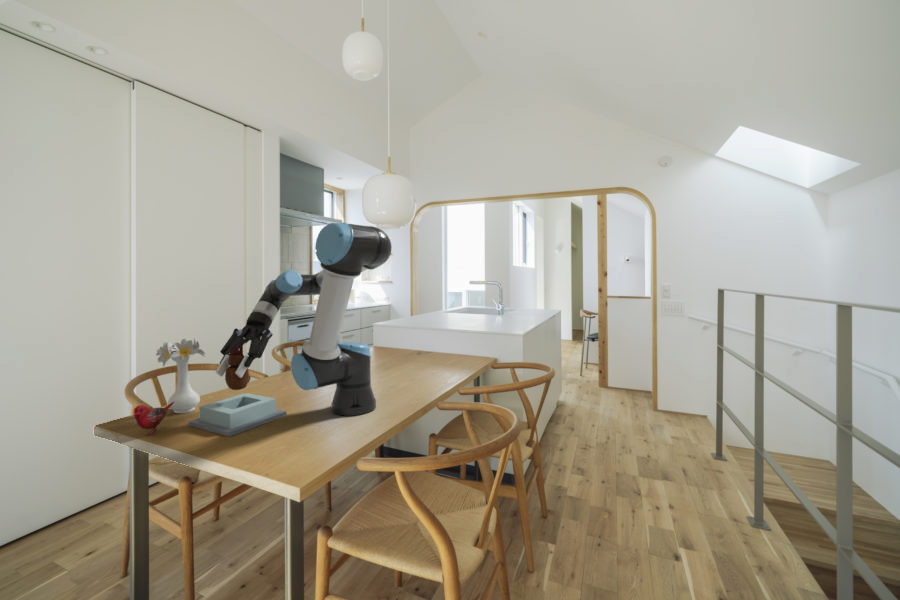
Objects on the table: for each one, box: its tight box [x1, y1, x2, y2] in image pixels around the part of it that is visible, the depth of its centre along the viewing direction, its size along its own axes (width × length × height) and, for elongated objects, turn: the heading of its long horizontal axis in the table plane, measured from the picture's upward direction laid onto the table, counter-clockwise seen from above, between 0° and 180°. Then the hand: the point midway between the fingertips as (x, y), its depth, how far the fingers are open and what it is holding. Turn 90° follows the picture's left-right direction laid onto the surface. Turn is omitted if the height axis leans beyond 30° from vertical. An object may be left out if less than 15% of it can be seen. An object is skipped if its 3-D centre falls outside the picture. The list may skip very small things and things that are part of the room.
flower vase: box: [155, 338, 206, 414], centre depth 135 cm, size 13×18×25 cm
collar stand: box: [188, 392, 287, 438], centre depth 127 cm, size 20×20×6 cm
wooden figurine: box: [224, 343, 250, 391], centre depth 126 cm, size 7×6×15 cm
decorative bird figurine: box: [133, 402, 174, 437], centre depth 118 cm, size 3×18×10 cm, turn 4°
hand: (228, 374), depth 123 cm, fingers closed on wooden figurine, 6 cm apart
